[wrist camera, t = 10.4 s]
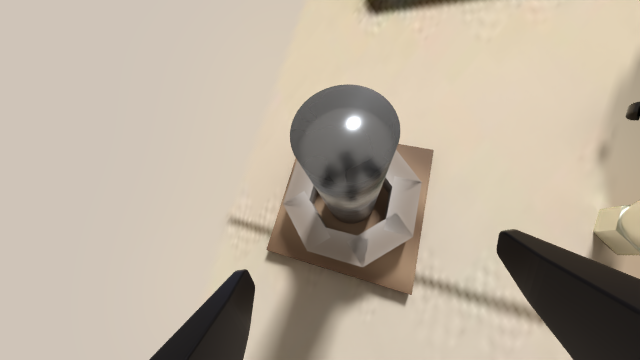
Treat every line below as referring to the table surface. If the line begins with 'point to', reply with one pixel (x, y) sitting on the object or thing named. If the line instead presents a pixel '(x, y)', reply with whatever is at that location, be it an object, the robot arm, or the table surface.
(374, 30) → the table surface
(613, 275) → the robot arm
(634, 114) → the valve
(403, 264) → the bore block
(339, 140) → the metal pin
